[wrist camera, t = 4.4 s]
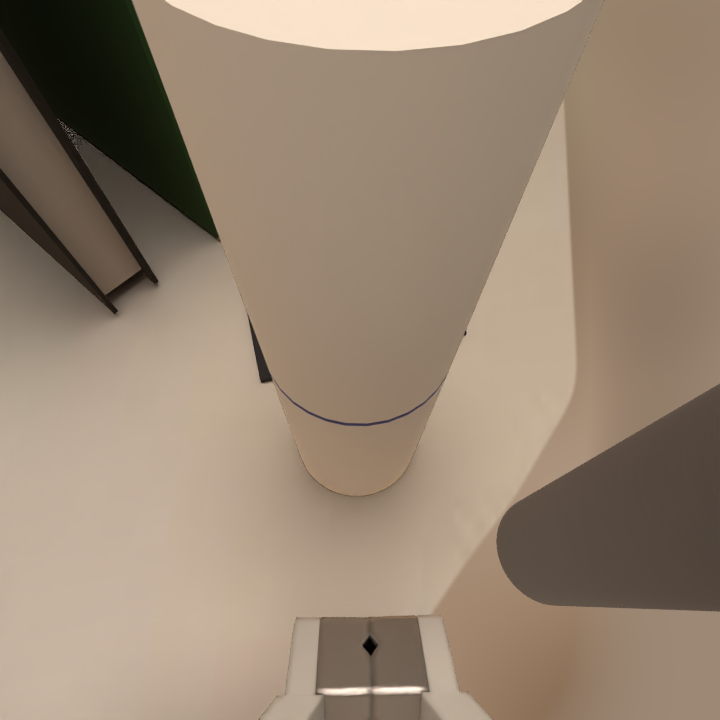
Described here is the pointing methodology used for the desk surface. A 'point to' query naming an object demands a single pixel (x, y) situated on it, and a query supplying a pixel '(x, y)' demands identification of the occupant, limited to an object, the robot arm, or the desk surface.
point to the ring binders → (85, 132)
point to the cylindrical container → (363, 188)
